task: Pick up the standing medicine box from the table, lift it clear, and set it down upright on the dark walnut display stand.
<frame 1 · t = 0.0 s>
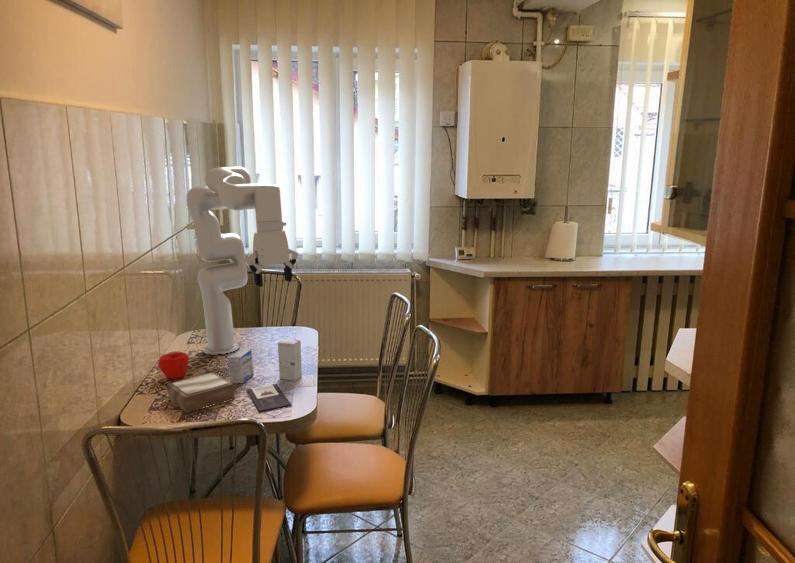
hand: (274, 283, 179), 31 cm above the table, tool pointing down, fingers open, 9 cm apart
chocolate bar: (268, 400, 173), on the table
medicine box: (242, 379, 189), on the table
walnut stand: (201, 399, 174), on the table
apple: (175, 378, 192), on the table
skincare box: (291, 378, 189), on the table
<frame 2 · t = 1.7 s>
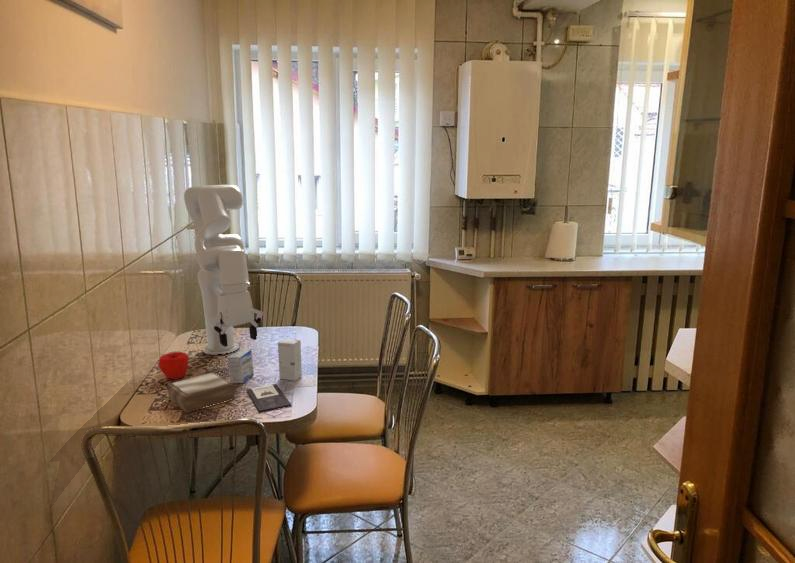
hand: (239, 342, 186), 12 cm above the table, tool pointing down, fingers open, 9 cm apart
nothing on the table moved.
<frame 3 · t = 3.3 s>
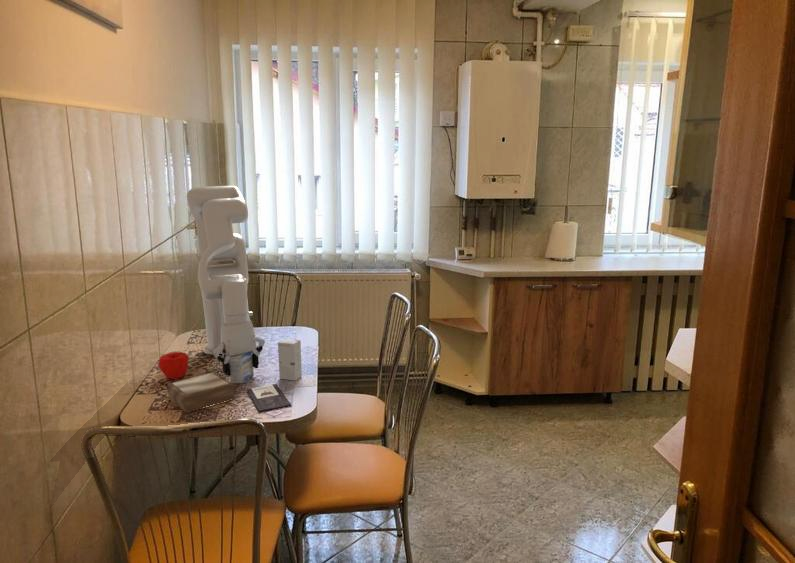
hand: (241, 370, 188), 3 cm above the table, tool pointing down, fingers closed on medicine box, 9 cm apart
medicine box: (242, 379, 189), on the table, touching gripper
everything else where it was.
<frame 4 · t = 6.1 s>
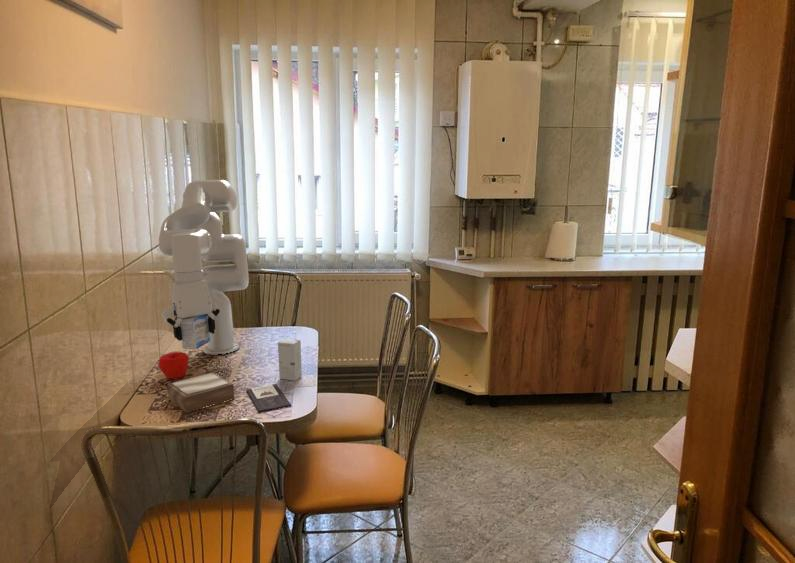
hand: (195, 335, 170), 19 cm above the table, tool pointing down, fingers closed on medicine box, 9 cm apart
medicine box: (196, 345, 171), point 16 cm above the table, touching gripper
everything else where it was.
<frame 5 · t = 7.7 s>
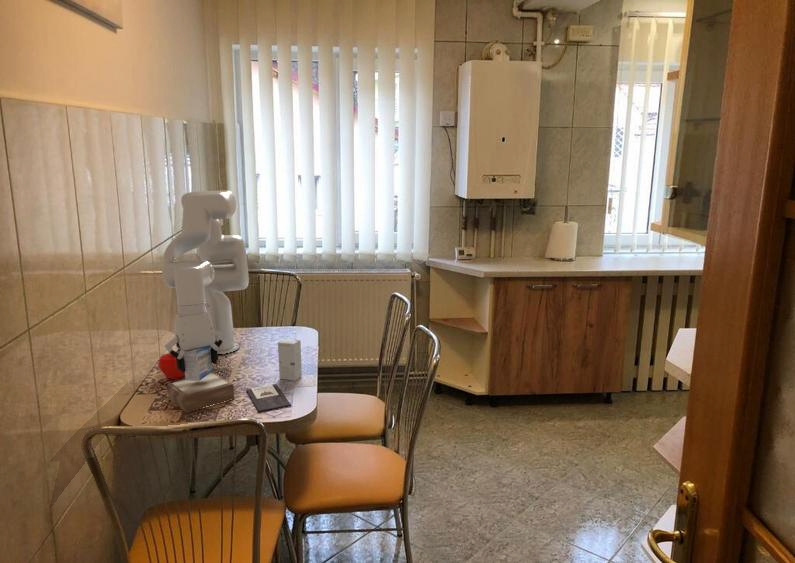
hand: (198, 366, 172), 10 cm above the table, tool pointing down, fingers closed on medicine box, 9 cm apart
medicine box: (199, 376, 172), point 7 cm above the table, touching gripper
everything else where it was.
when the fingers open (8 cm above the table, at t = 9.1 s): medicine box stays where it is, resting on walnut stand.
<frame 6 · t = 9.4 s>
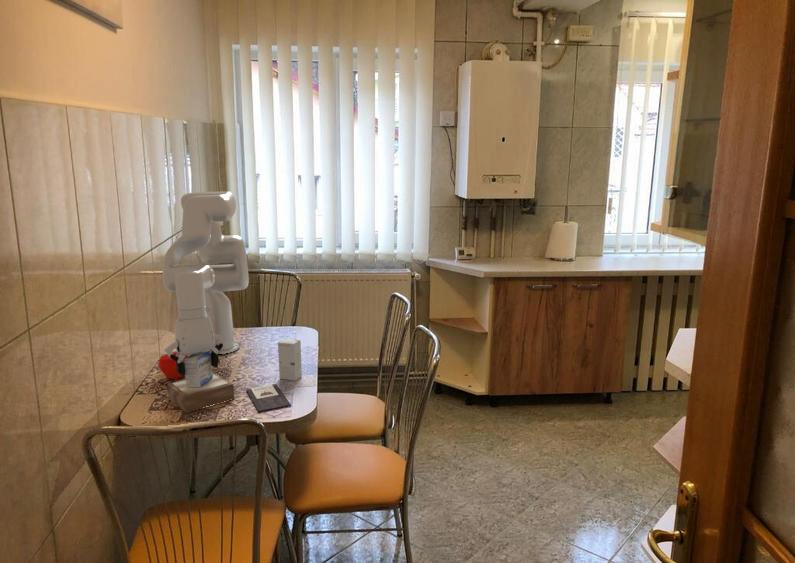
hand: (198, 370, 172), 9 cm above the table, tool pointing down, fingers open, 9 cm apart
medicine box: (199, 383, 173), point 5 cm above the table, touching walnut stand
everything else where it was.
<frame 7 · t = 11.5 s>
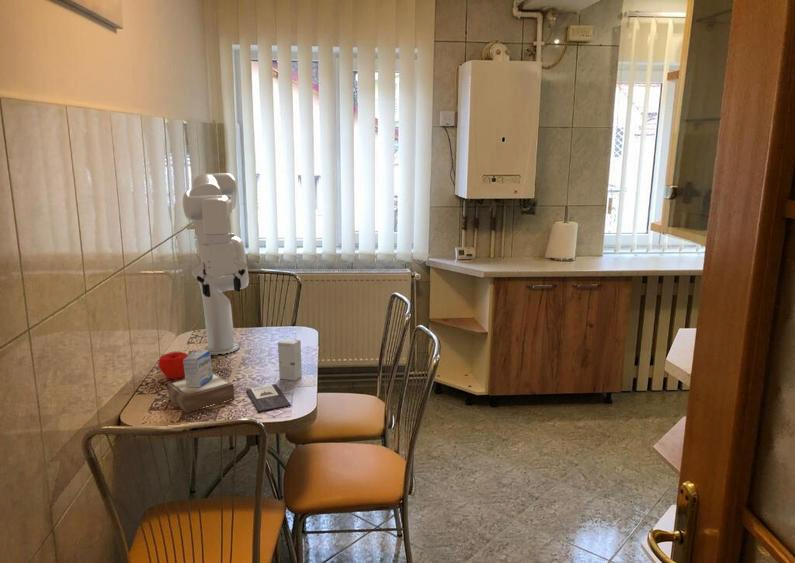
hand: (222, 293, 185), 28 cm above the table, tool pointing down, fingers open, 9 cm apart
nothing on the table moved.
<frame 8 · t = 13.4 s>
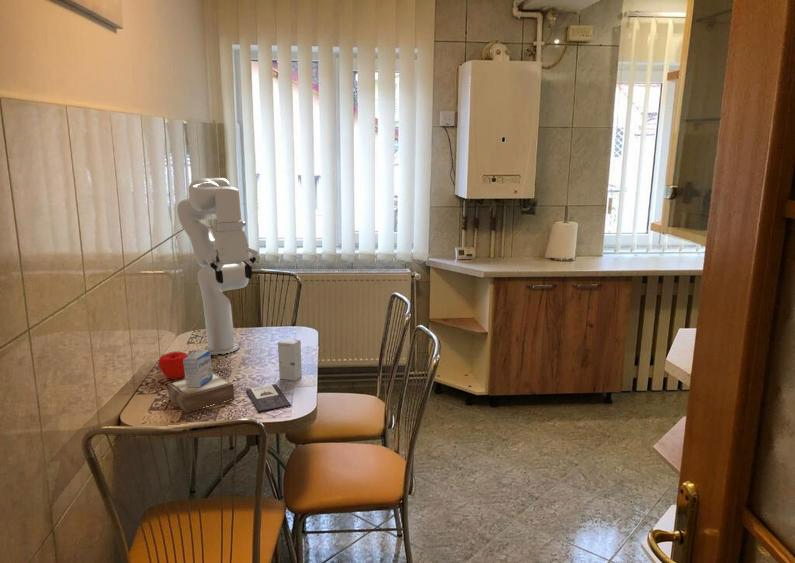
hand: (234, 280, 191), 30 cm above the table, tool pointing down, fingers open, 9 cm apart
nothing on the table moved.
at the end: medicine box inside the target area on the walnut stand (0.2 cm from its centre), point 4.8 cm above the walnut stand's base; medicine box tilted 0°; the gripper is holding nothing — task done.
